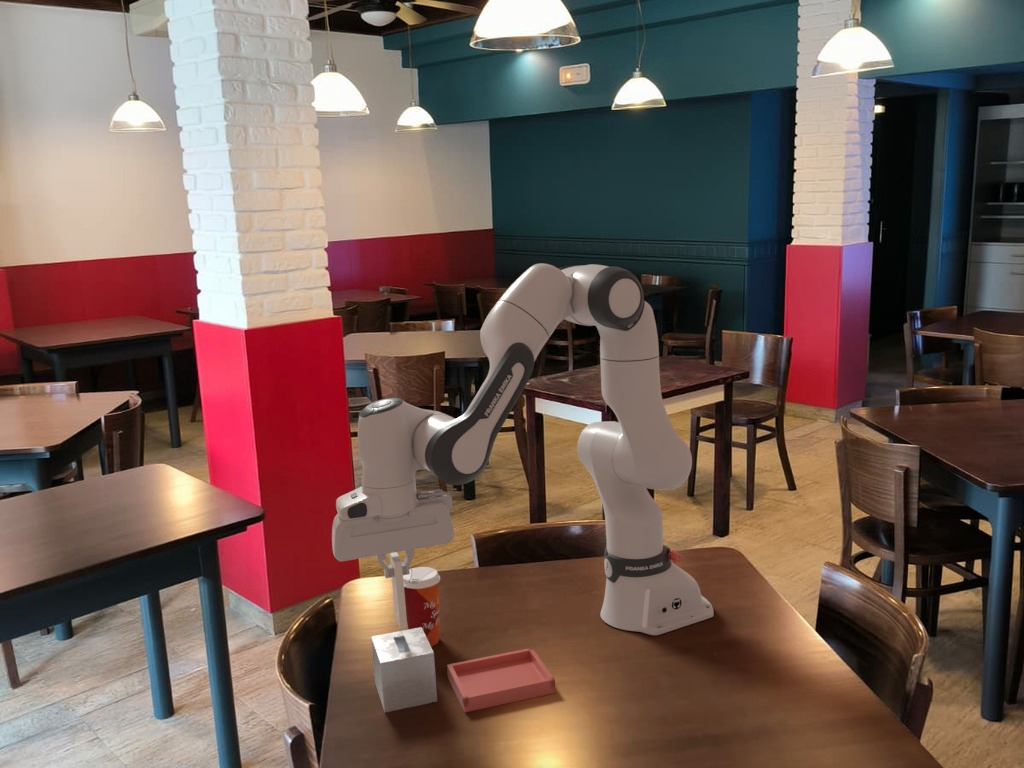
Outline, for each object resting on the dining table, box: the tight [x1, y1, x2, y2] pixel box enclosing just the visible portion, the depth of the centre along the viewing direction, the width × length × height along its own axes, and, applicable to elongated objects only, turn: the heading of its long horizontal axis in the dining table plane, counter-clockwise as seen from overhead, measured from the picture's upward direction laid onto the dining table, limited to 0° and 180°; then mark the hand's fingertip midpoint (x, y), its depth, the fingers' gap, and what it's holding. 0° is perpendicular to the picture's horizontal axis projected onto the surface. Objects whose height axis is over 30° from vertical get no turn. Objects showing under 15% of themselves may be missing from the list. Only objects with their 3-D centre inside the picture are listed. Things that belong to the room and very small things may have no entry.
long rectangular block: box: [388, 552, 408, 631], centre depth 150 cm, size 1×5×12 cm, turn 18°
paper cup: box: [403, 566, 441, 648], centre depth 171 cm, size 8×8×14 cm
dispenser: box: [370, 627, 438, 713], centre depth 153 cm, size 9×10×9 cm
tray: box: [446, 647, 556, 713], centre depth 155 cm, size 16×12×2 cm
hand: (397, 575), depth 150 cm, fingers closed on long rectangular block, 1 cm apart
